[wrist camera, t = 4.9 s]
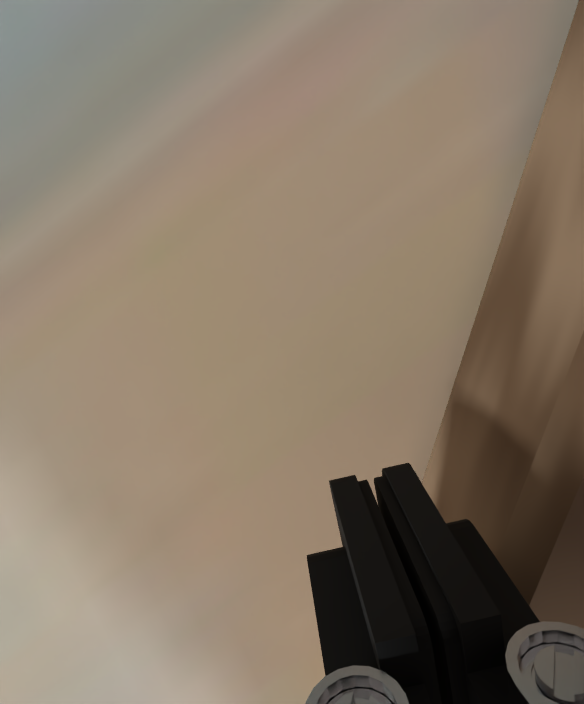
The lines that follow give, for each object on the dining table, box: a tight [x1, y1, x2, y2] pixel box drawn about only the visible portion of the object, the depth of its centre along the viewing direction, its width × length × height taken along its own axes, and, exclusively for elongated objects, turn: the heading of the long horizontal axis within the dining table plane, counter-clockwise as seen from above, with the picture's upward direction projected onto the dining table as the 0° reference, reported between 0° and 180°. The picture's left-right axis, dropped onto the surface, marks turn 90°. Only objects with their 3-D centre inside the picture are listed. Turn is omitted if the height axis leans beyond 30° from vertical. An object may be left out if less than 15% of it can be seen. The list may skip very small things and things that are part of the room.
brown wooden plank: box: [422, 0, 584, 629], centre depth 10 cm, size 20×2×6 cm, turn 168°
